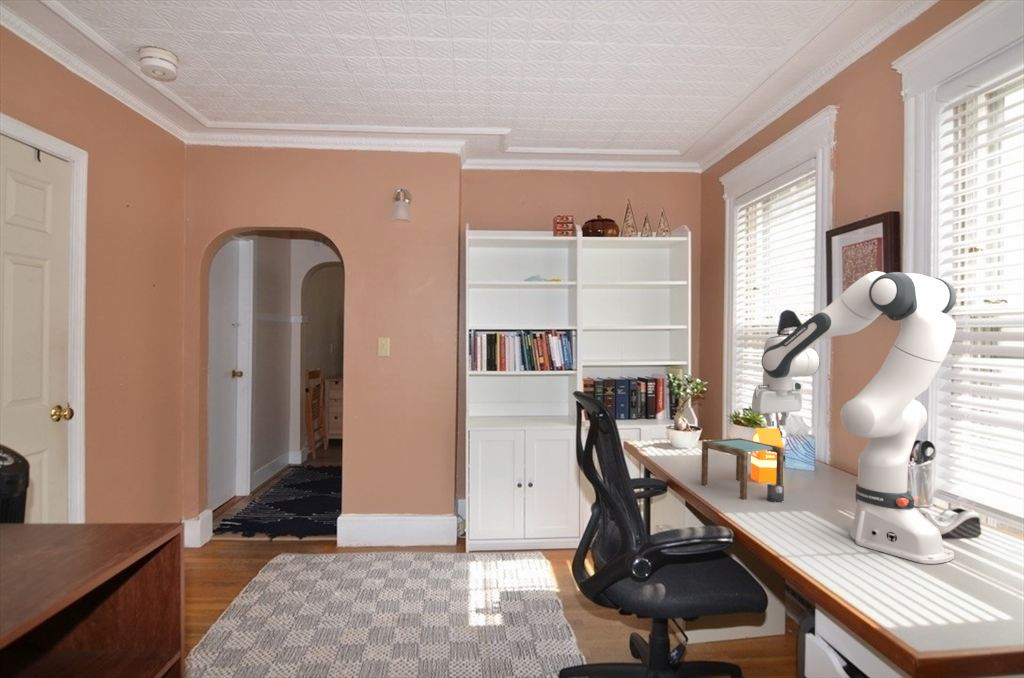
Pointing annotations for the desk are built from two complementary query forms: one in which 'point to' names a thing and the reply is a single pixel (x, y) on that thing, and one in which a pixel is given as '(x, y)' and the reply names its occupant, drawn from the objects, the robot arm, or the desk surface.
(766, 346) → the robot arm
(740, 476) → the teal-topped side table
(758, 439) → the orange juice
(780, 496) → the iron weight
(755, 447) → the trapdoor
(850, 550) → the desk surface
